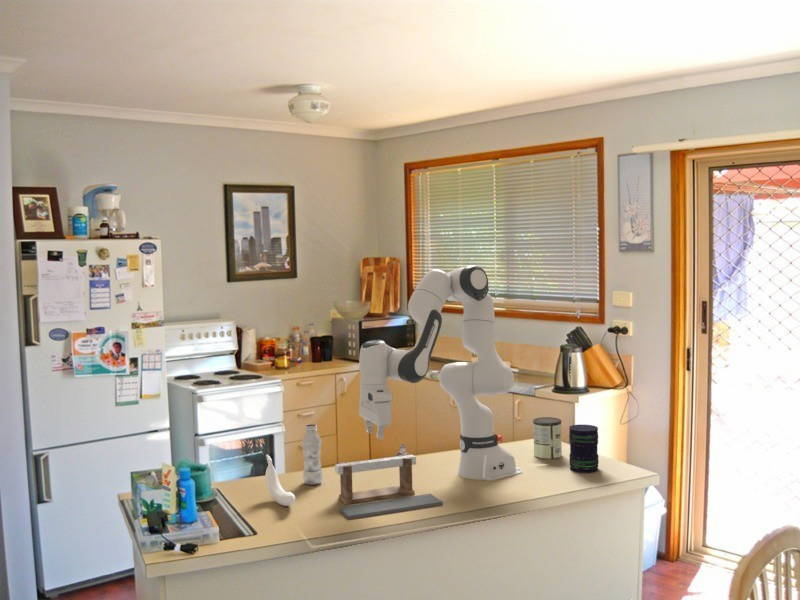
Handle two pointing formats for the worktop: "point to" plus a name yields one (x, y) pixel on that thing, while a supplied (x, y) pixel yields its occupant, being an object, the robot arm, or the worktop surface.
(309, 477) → the plastic bottle
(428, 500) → the mat
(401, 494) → the stand
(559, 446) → the coffee can
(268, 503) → the worktop surface
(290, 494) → the banana
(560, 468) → the worktop surface
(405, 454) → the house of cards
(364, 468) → the rail
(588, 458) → the storage jar
